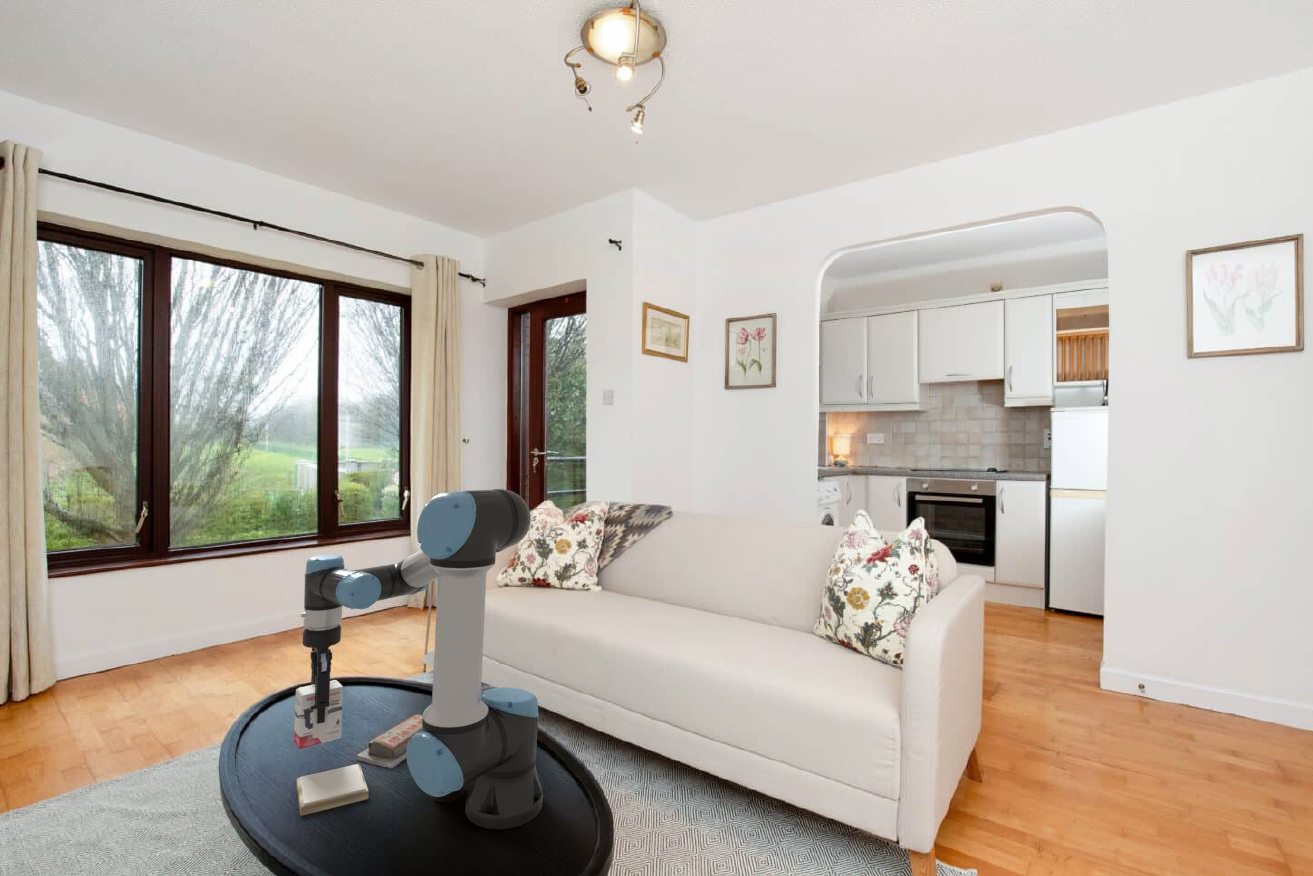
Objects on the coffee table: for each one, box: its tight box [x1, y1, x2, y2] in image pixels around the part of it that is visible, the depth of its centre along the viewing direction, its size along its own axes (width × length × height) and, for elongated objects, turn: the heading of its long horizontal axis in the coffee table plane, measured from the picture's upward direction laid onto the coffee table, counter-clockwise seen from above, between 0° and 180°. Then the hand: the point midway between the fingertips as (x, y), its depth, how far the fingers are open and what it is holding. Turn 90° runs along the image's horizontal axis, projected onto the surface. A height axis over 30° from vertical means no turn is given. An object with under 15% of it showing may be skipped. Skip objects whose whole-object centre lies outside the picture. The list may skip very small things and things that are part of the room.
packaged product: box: [356, 714, 423, 769], centre depth 148 cm, size 18×5×10 cm
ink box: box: [293, 679, 344, 750], centre depth 138 cm, size 8×5×12 cm, turn 134°
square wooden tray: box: [296, 763, 370, 817], centre depth 128 cm, size 12×12×2 cm
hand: (318, 730), depth 138 cm, fingers closed on ink box, 5 cm apart
